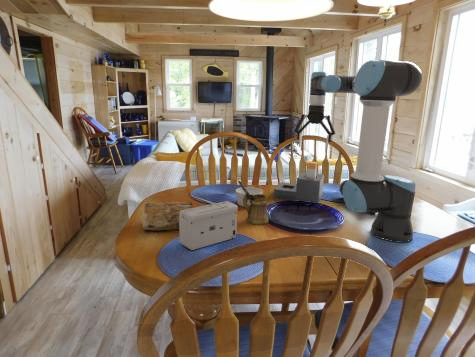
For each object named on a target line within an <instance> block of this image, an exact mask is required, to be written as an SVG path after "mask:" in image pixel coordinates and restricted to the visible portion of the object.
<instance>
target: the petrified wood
mask: <svg viewBox="0 0 475 357" xmlns="http://www.w3.org/2000/svg"><path fill="white" fill-rule="evenodd" d="M143 206H144V207H143V208H144V211H143V212H144V216H143V222H142V223H143V224H142V229H143V230H145V231H172V230H179V212H180V211H181V210H186V209H191V208H194V205H193V202H192V201H191V202H190V201H189V202H187V201H186V202H182V201H181V202H180V201H168V202H167V201H166V202H165V201H164V202H163V201H162V202H160V201H159V202H147V203H144V205H143Z"/></svg>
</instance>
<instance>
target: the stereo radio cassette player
mask: <svg viewBox="0 0 475 357" xmlns="http://www.w3.org/2000/svg"><path fill="white" fill-rule="evenodd" d="M191 197H194V198H197V199H199V200H201V201H204V202H207V203H209V204H206V205H200V206H197V207H192V208H191V209H186V210H181V211H180V212H179V229H178V230H179V242H180V244H182V245H183V246H184V247H186V248H187V249H188V250H190V251H192V250H193V251H195V250H198V249H201V248H204V247H208V246H212V245H215V244H218V243H222V242H225V241H228V240H232V238H233V239H235V238H236V236H237V225H238V224H237V219H238V218H237V217H238V216H237V214H238V213H237V212H238V204H235V203H233V202H231V201H229V200H226V201H221V202H217V203H216V202H215V203H214V202H213V201H209V200H207V199H203V198H200V197H198V196H196V195H193V194H191Z"/></svg>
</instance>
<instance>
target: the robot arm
mask: <svg viewBox="0 0 475 357" xmlns="http://www.w3.org/2000/svg"><path fill="white" fill-rule="evenodd" d="M310 76H311V77H310V85H309V86H310V87H309V88H310V90H309V99H308V100H309V101H308V104H309V105H308V111H307V112H308V113H307V114H305V113H303V114H301V118H300V120H299V121H298V123H297V125H295V126H296V127H295V128H294V130H293V132H294V133H297V136H296V139H297V141H298V148H299V147H301V146H302V140H303V139H302V138H303V133H301V132H303V131H304V130H305V129H306V128H307V126H309V125H310V124H313V125H315V124H316V125H319V124H320V126H321V127H322V128H323V129H324V131H325V132H326V133H327V135H326V141H325V142H326V144H325V150H328V149H329V143H331V141H332V136H334V135H336V131H335V128H334V126H333V125H334V124H333V123H332V121H331V115H330V114H329V115H325V103H326V94H329V93H330V94H333V93H334V94H356V95H358V96H359V102H360V103H361V104H362V106H363V108H362V116H361V124H360V125H361V126H360V133H359V142H358V150H357V158H356V168H355V171H354V172H353V173H351V175H350V179H349V180H350V181H348V182H346V183H345V184H344V186H343V196H342V198H343V200H344V203H345V205H346V207H347V208H348V209H349V210H350V211H352V212H353V213H354V212H355V213H369V212H372V211H378V213H376V214H377V215H376V216H375V218H374V219H373V222H372V224H371V227H370V231H371V234H372V235H374V236H375V237H377V236H378V237H377V238H379V237H381V238H384V239H388V240H392V241H391V242H393V241H408V240H411V239H412V238H414V228H413V224H412V212H413V205H414V201H415V194H416V183H415V181H413V180H411V179H409V178H408V179H407V178H405V177H400V176H397V175H396V176H395V175H390V174H389V175H388V174H385V175H382V174H381V172H382V166H383V165H382V164H383V158H384V150H385V145H386V144H385V143H386V136H387V128H388V124H389V123H388V122H389V121H388V120H389V115H390V114H389V113H390V107H391V106H392V105H394V104H395V103H396V98H397V97H405V96H409V95H411V94H413V93H414V92H416V91H417V90H418V89H419V87H420V86H421V84H422V81H423V74H422V70H421V69H420V68H419V66H418V65H416V64H415V63H413V62H410V61H397V60H385V59H384V60H383V59H376V60H372V59H371V60H368V61H366V62H364V63H363V64H361V66H360V68H359V69H358V70H357V73H356V75H355V76H354V75H353V76H352V75H351V76H349V75H348V76H347V75H335V74H328V72H327V71H313V72H312V73H311V75H310ZM306 118H307V122H305V124H303V122H304V121H305V119H306ZM323 120H326V121H327V123H328V125H329V128H330V129H329V128H328V127H327V125H326V124H325V123H324V121H323ZM302 124H303V126H302ZM300 127H301V128H300ZM299 128H300V129H299ZM381 238H380V239H381ZM384 239H383V240H384ZM388 240H387V241H388ZM412 240H413V239H412ZM412 240H411V241H412ZM408 242H409V241H408Z"/></svg>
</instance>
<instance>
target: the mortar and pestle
mask: <svg viewBox="0 0 475 357" xmlns="http://www.w3.org/2000/svg"><path fill="white" fill-rule="evenodd" d="M237 183H238V184H239V186H240V188H242V189H243V190H244V192H245V193H246V194H245V196H244V198H243V205H244V209H245V210H246V212H247V218H246V221H247V222H248V223H249V224H252V225H258V226H260V225H261V226H262V225H265V224H268V223H269V216H268V207H267V204H268V200H267V196H266V195H265V194H256V195H253V194H249V192H248V191H247V189H246V188H245V187H246V186H245V185H244V184H243V182H242V181H240V180H237ZM248 200H250V203H251V204H250V206H249V205H248V204H247V201H248Z"/></svg>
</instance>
